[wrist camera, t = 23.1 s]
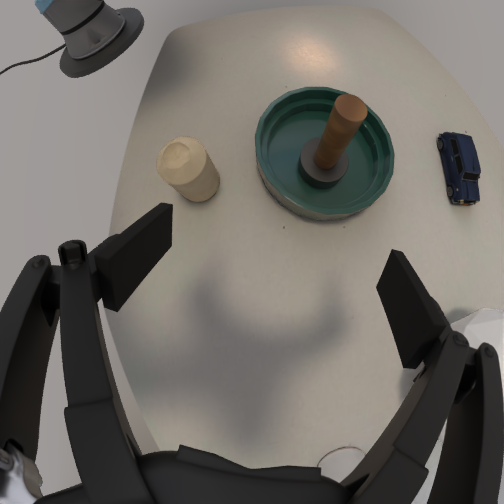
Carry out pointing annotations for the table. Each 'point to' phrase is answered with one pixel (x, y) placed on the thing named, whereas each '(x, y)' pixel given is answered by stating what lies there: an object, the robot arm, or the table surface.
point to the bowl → (311, 126)
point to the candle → (188, 169)
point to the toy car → (460, 167)
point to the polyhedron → (482, 336)
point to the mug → (340, 463)
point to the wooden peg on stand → (332, 144)
